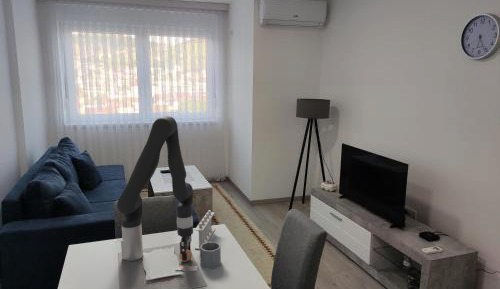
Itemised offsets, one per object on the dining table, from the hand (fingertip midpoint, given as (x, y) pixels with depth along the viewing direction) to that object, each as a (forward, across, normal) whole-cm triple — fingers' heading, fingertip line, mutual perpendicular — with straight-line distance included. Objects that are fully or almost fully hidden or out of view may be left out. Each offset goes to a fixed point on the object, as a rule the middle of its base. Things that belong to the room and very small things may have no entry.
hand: (186, 255), depth 169 cm
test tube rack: (+3, -24, +5) cm, 25 cm away
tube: (+3, +2, +12) cm, 13 cm away
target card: (+3, +7, +2) cm, 8 cm away
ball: (0, 0, 0) cm, 0 cm away
